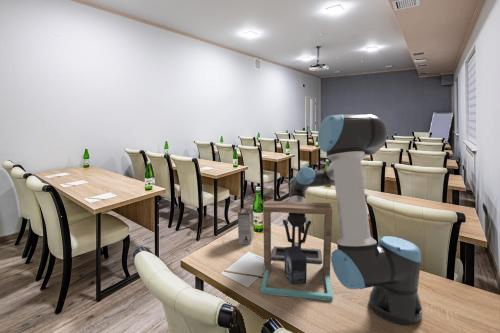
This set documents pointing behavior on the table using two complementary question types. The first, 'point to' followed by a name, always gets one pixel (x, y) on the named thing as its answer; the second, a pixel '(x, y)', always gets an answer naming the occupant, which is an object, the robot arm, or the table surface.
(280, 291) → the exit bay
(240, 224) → the coffee box
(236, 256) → the table surface
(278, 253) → the pit plate
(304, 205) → the tunnel
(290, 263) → the small box
